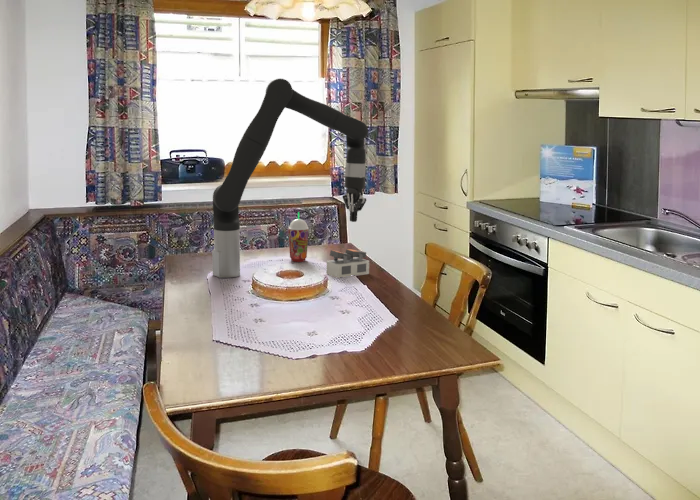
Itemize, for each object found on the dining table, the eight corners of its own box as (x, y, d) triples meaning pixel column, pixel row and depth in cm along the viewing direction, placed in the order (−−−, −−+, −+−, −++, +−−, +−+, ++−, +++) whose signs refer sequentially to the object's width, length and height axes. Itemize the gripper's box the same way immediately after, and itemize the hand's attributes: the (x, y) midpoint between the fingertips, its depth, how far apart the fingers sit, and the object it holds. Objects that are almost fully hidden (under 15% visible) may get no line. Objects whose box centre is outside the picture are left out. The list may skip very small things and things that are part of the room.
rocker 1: (337, 257, 250) (338, 252, 250) (329, 255, 255) (330, 249, 255) (350, 260, 254) (351, 254, 254) (342, 257, 258) (343, 252, 258)
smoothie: (299, 263, 274) (299, 214, 270) (283, 260, 279) (283, 212, 275) (312, 260, 280) (313, 212, 277) (297, 257, 285) (297, 210, 281)
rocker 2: (353, 257, 254) (353, 251, 254) (345, 254, 259) (345, 248, 258) (365, 257, 258) (366, 252, 258) (357, 255, 262) (358, 249, 262)
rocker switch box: (338, 278, 250) (338, 257, 249) (326, 273, 257) (326, 254, 255) (369, 274, 258) (369, 254, 257) (356, 269, 265) (357, 250, 263)
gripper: (337, 174, 257) (335, 219, 261) (357, 177, 247) (355, 224, 250) (353, 173, 262) (351, 218, 265) (373, 176, 251) (371, 223, 254)
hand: (353, 221), depth 257 cm, fingers closed
